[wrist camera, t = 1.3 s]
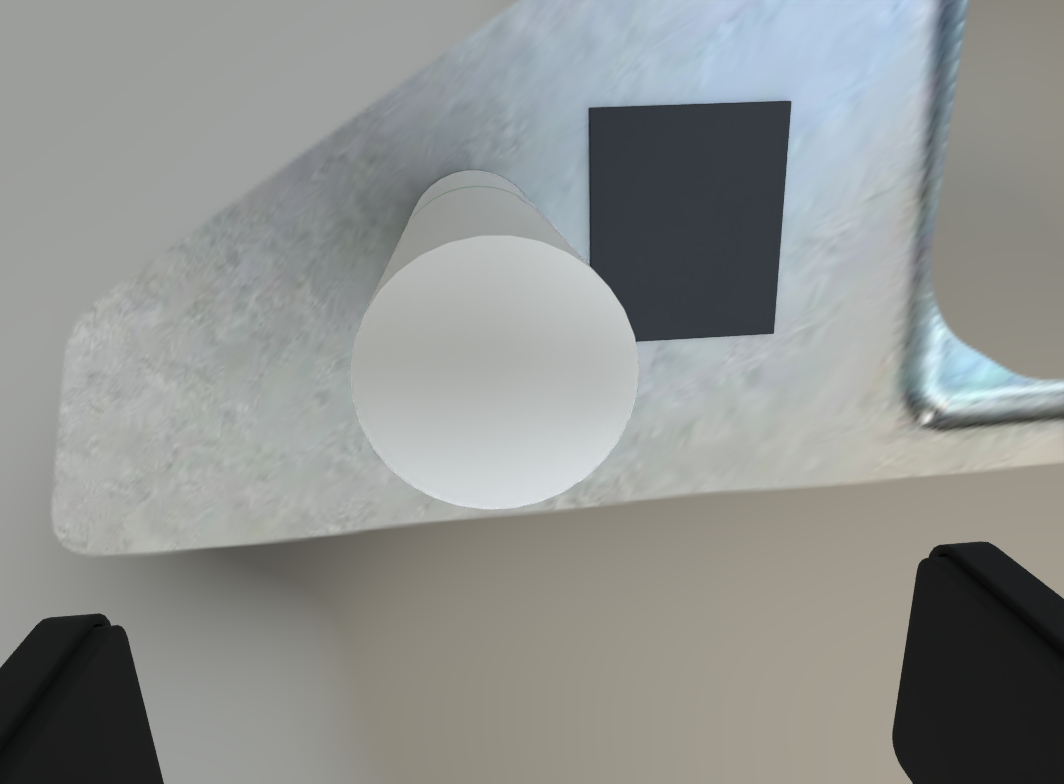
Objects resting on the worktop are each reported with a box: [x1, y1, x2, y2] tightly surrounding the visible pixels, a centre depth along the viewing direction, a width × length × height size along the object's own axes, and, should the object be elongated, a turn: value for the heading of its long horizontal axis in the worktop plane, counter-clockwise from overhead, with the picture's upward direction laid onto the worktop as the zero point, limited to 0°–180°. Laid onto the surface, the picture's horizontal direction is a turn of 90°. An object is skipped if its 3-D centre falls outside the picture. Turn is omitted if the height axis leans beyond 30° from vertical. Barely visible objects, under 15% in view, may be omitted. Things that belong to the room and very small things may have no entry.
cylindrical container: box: [350, 170, 639, 509], centre depth 31 cm, size 7×7×25 cm
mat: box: [589, 101, 791, 342], centre depth 43 cm, size 13×11×1 cm
